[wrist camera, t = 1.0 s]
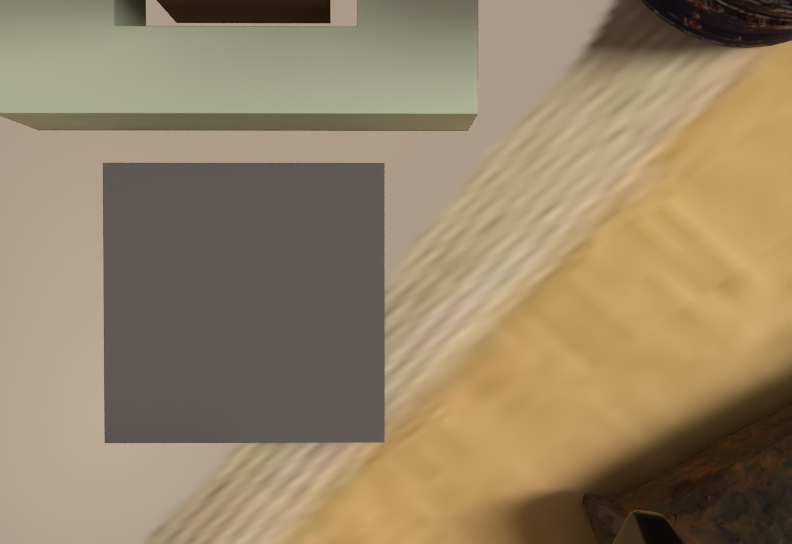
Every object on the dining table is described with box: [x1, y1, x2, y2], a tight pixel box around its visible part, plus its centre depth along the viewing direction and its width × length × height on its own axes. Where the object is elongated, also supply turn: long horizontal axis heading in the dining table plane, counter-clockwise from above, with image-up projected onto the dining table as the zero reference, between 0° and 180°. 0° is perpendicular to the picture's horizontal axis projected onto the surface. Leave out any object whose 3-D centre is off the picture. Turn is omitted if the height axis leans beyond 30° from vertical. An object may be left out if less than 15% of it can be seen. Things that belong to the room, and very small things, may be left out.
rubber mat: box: [103, 163, 384, 443], centre depth 22 cm, size 9×9×1 cm
